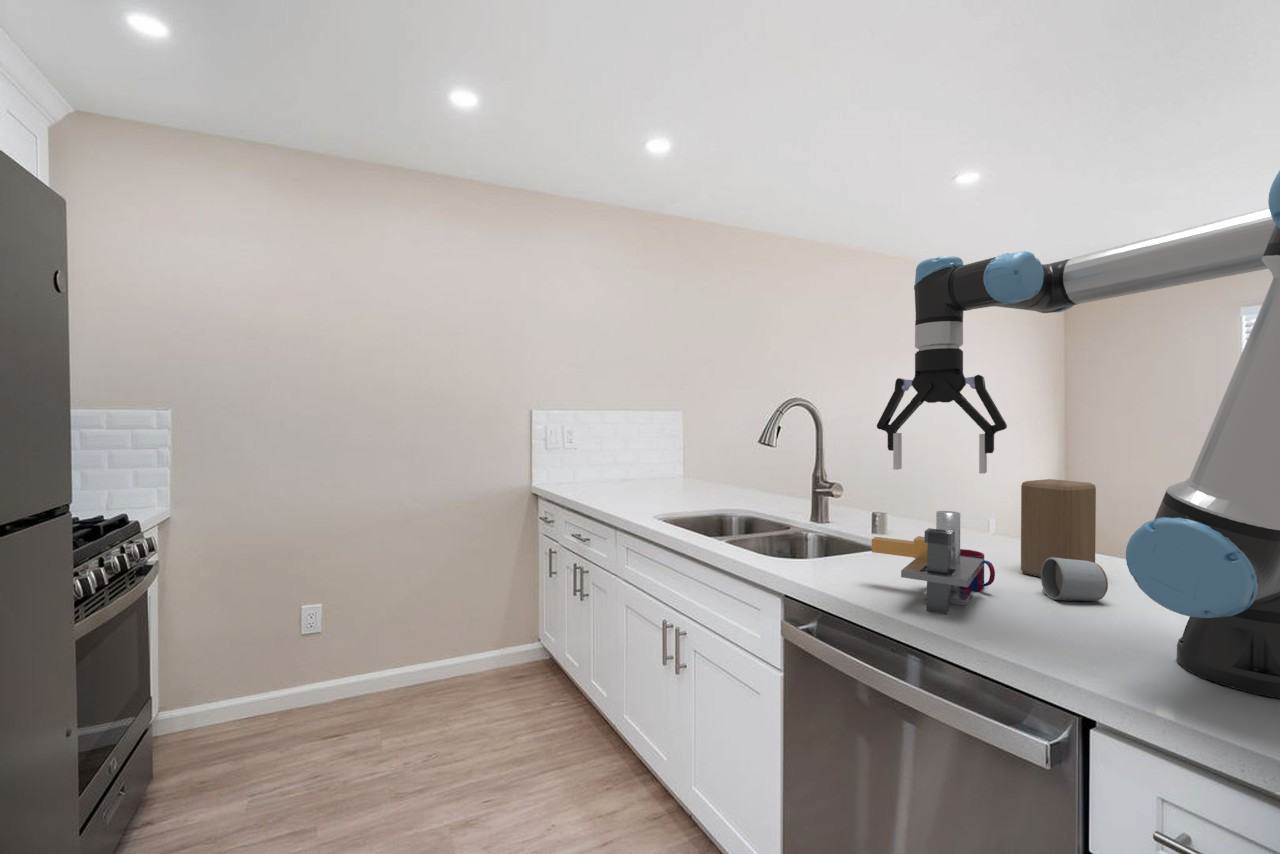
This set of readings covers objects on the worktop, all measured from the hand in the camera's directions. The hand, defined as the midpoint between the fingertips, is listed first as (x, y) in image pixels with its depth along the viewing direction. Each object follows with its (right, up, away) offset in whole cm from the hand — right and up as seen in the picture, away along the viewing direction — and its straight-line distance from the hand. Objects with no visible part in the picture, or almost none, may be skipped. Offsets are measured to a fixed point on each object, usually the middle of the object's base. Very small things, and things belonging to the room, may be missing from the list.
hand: (938, 471), depth 105 cm
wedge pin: (0, -25, 0) cm, 24 cm away
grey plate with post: (0, -24, +7) cm, 25 cm away
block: (+36, -24, +22) cm, 48 cm away
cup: (+13, -24, +13) cm, 31 cm away
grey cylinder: (+28, -25, +8) cm, 38 cm away
